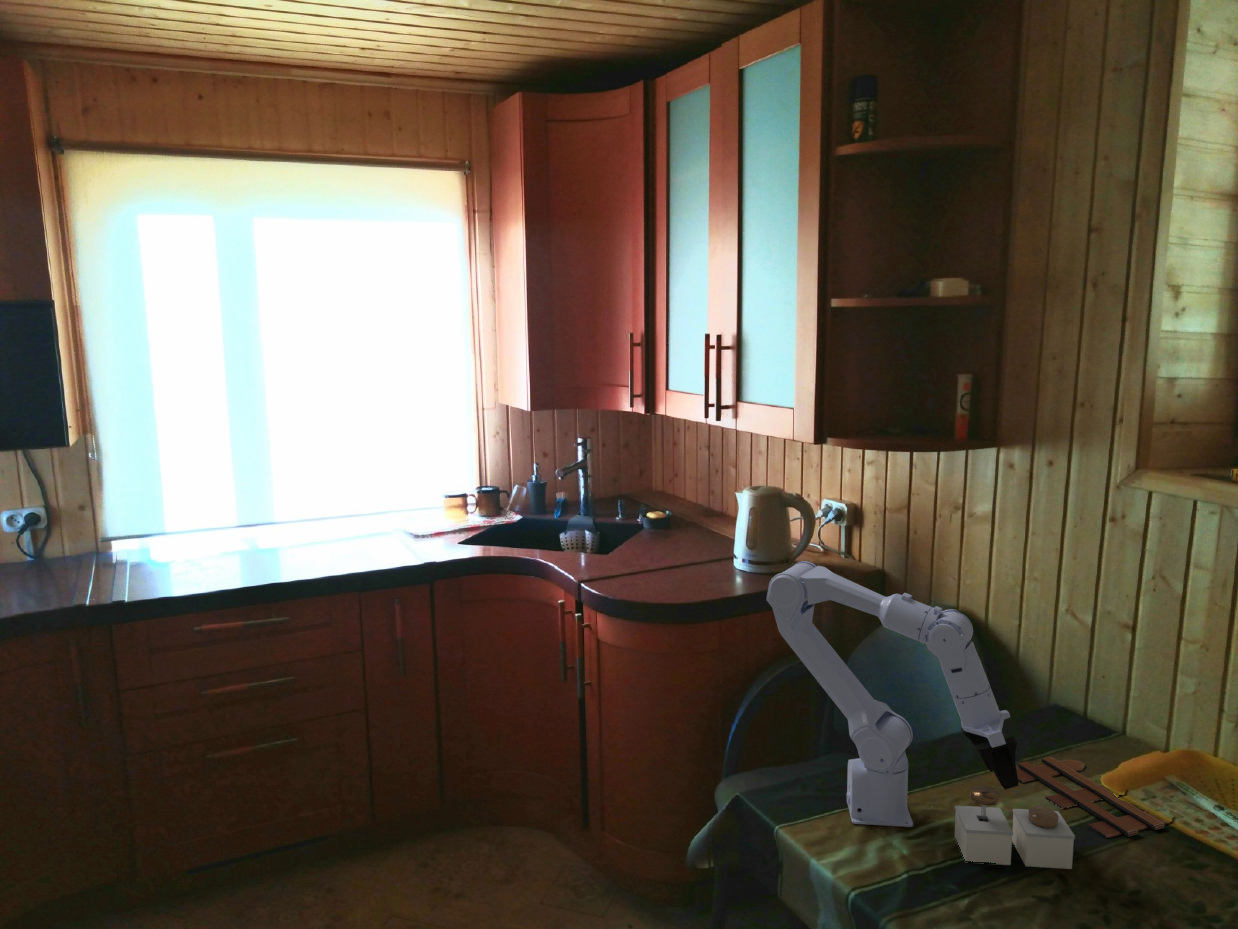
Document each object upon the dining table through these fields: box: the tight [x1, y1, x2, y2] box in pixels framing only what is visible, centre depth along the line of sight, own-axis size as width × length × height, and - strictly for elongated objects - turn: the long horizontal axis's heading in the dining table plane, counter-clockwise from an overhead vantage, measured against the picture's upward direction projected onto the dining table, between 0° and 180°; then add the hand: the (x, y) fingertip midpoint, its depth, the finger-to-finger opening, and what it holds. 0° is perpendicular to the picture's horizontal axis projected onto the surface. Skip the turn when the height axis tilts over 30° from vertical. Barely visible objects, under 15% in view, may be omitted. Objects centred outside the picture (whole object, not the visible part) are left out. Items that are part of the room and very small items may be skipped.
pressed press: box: [1012, 806, 1076, 870], centre depth 128 cm, size 7×8×7 cm
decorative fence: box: [1016, 756, 1168, 840], centre depth 143 cm, size 23×2×15 cm
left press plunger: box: [969, 784, 1000, 822], centre depth 128 cm, size 4×4×6 cm
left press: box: [954, 805, 1013, 866], centre depth 129 cm, size 7×8×5 cm
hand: (1003, 778), depth 128 cm, fingers open, 7 cm apart
